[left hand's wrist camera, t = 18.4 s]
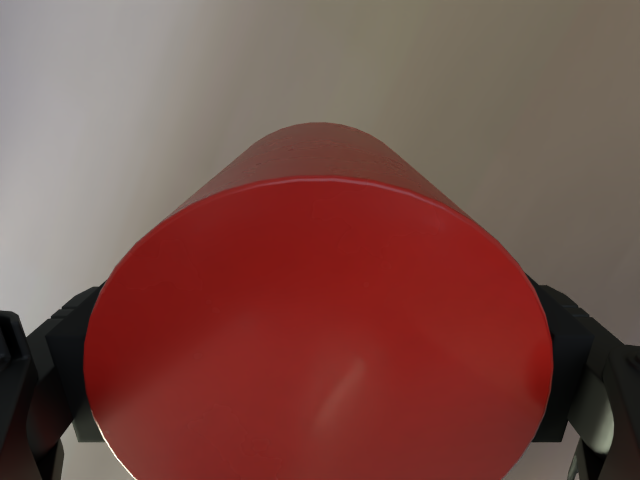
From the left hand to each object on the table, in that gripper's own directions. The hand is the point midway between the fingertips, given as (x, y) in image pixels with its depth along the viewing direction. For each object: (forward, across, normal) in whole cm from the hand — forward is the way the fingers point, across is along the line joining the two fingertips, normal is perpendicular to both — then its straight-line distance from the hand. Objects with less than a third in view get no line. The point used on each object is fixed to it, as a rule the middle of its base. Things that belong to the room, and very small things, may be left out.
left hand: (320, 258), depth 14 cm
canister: (+3, 0, 0) cm, 3 cm away
